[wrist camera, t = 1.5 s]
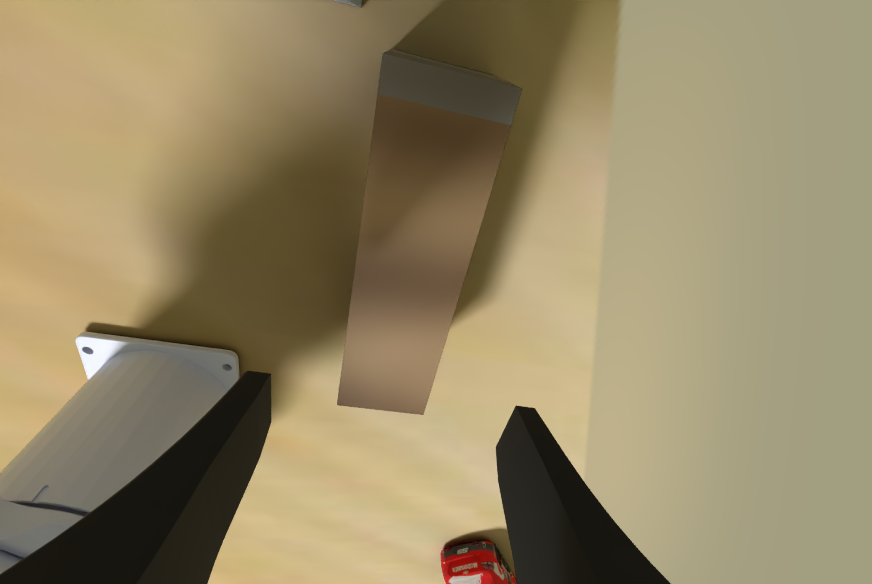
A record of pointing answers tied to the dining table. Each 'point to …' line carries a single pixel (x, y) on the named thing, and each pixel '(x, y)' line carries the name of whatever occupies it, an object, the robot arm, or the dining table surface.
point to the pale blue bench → (351, 2)
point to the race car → (475, 565)
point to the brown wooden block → (419, 223)
